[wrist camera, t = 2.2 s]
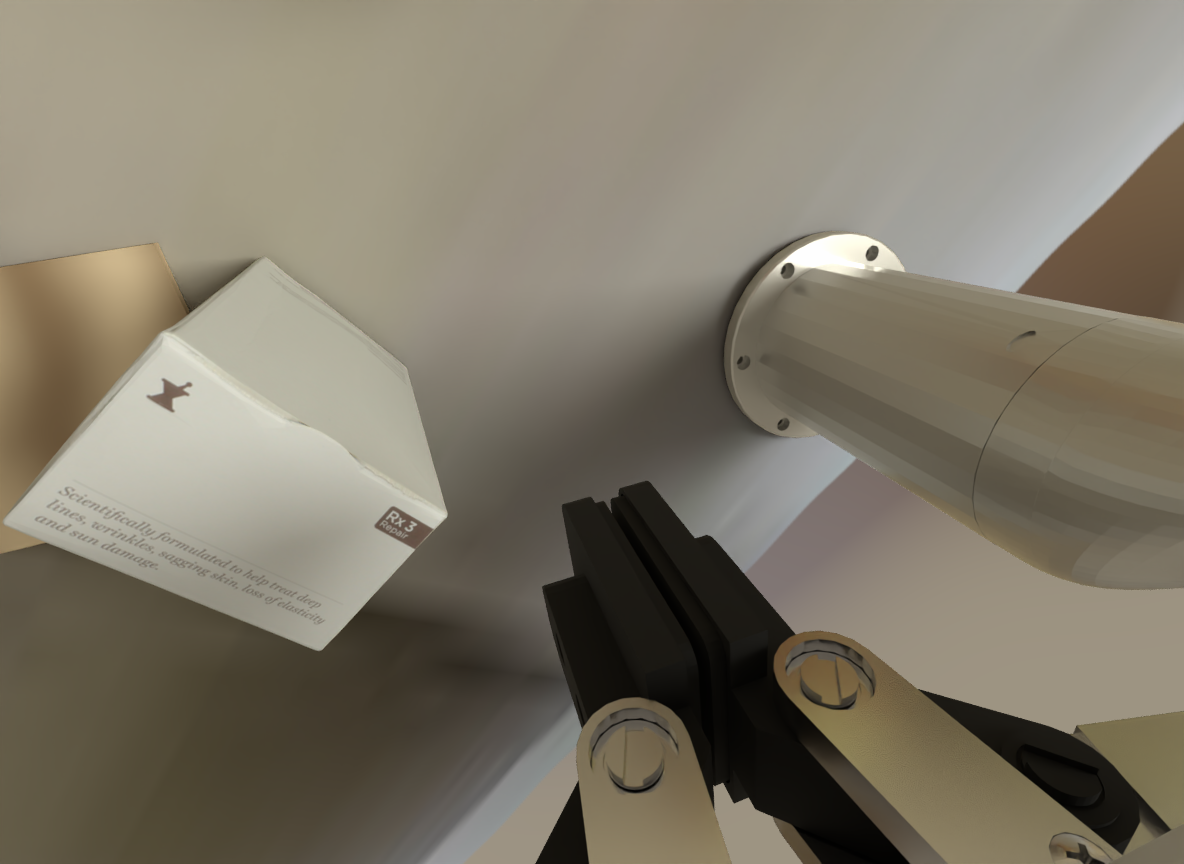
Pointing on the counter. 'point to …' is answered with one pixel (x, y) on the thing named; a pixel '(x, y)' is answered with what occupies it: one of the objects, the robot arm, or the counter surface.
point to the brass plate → (70, 351)
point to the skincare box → (249, 464)
